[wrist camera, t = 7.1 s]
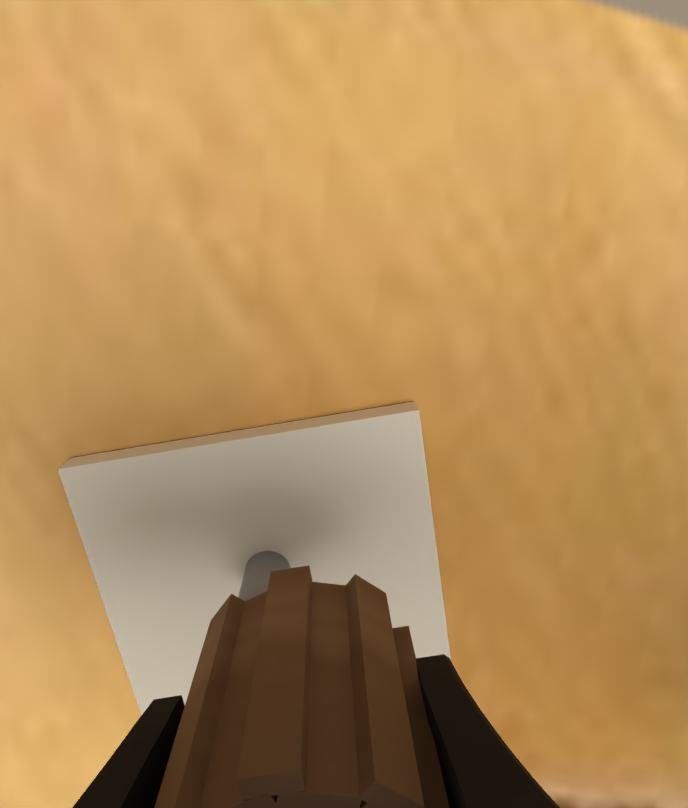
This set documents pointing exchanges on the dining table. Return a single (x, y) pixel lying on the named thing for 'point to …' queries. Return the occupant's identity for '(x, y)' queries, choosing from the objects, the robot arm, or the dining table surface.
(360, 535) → the gear board
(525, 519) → the dining table surface
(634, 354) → the dining table surface
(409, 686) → the walnut pinion gear
